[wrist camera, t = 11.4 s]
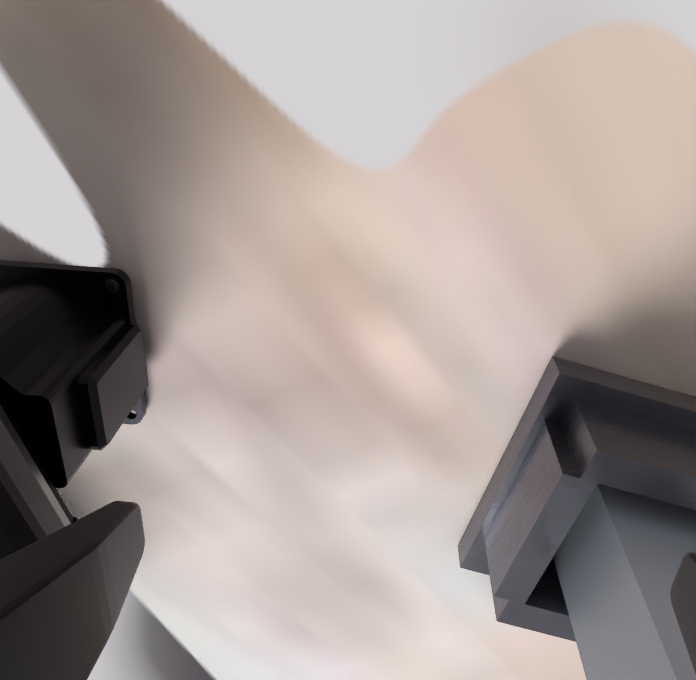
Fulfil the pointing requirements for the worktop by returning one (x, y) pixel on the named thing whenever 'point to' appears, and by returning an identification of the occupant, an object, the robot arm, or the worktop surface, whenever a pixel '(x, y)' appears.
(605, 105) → the worktop surface
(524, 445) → the dark grey tray
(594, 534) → the tall grey box
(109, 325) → the robot arm
